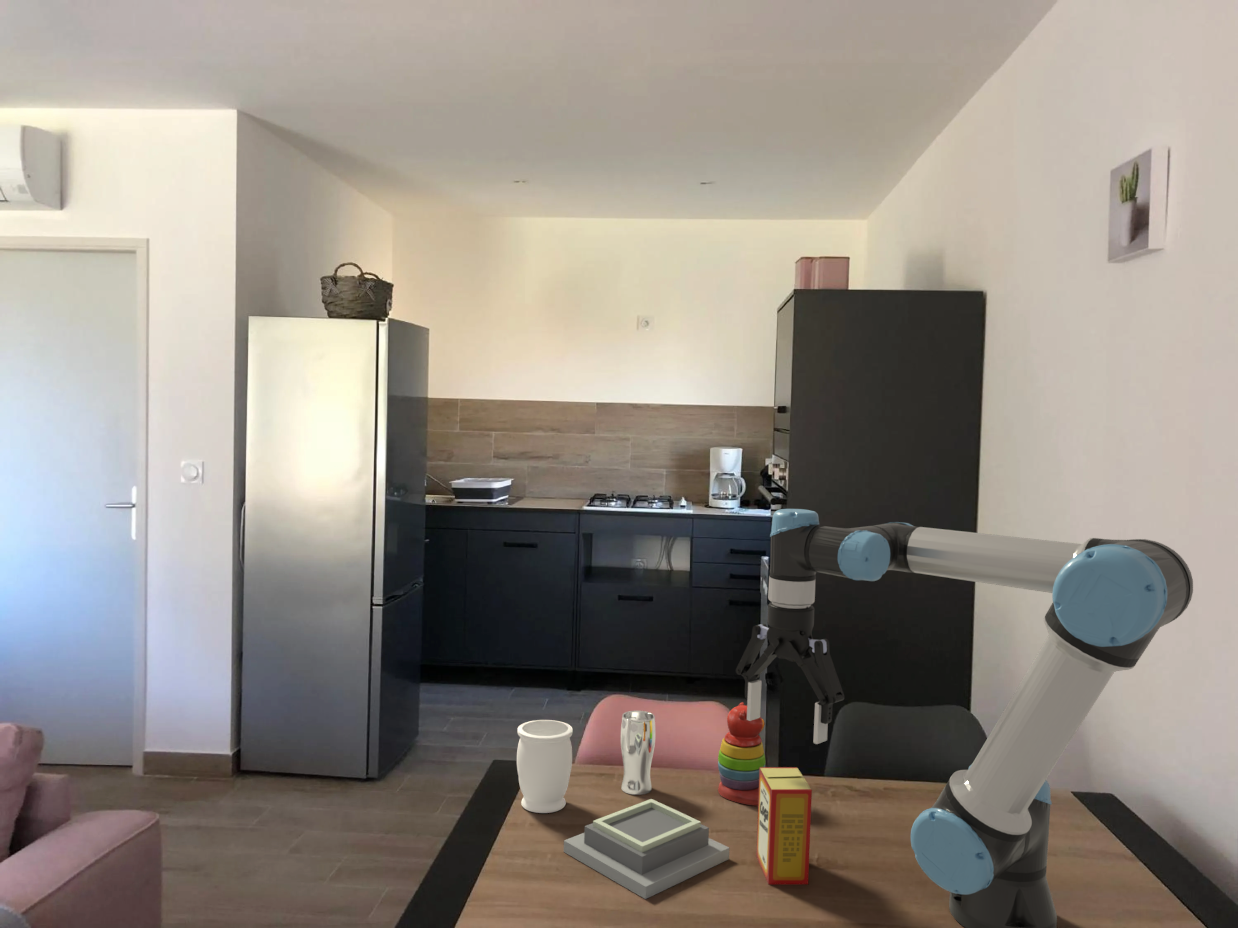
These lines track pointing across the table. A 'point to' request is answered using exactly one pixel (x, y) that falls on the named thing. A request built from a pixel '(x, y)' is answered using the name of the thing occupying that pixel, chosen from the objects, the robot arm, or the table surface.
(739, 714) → the stacking bear
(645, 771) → the beer glass
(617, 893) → the table surface
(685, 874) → the plinth
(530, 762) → the jar
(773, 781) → the baking soda box
